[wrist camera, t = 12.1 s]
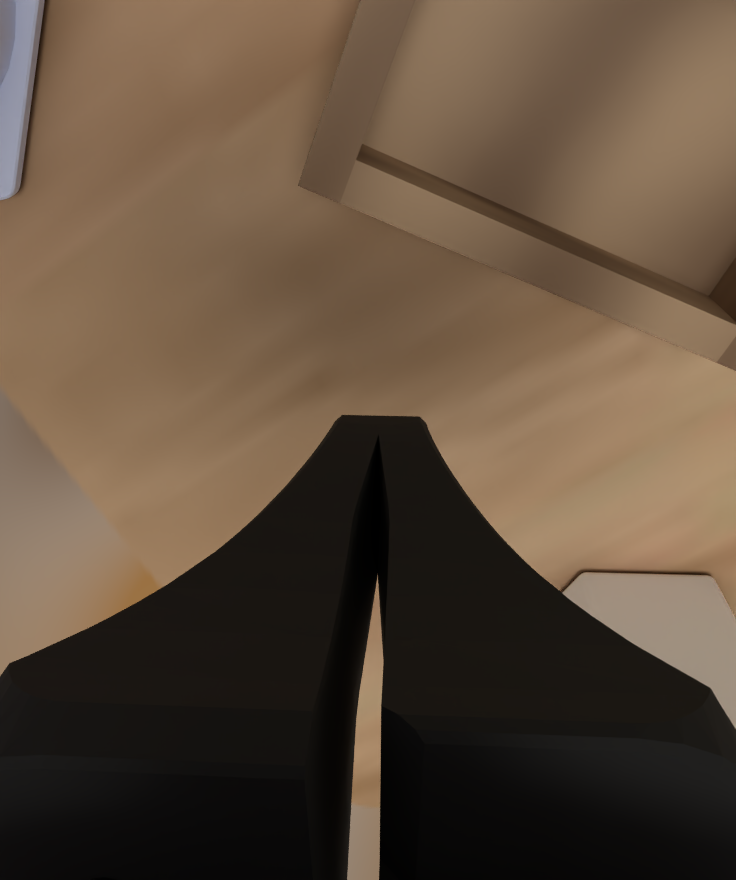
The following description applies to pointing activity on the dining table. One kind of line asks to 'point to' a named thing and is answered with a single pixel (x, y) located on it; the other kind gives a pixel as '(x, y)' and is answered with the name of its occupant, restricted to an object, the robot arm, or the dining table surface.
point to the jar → (669, 622)
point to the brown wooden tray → (552, 148)
